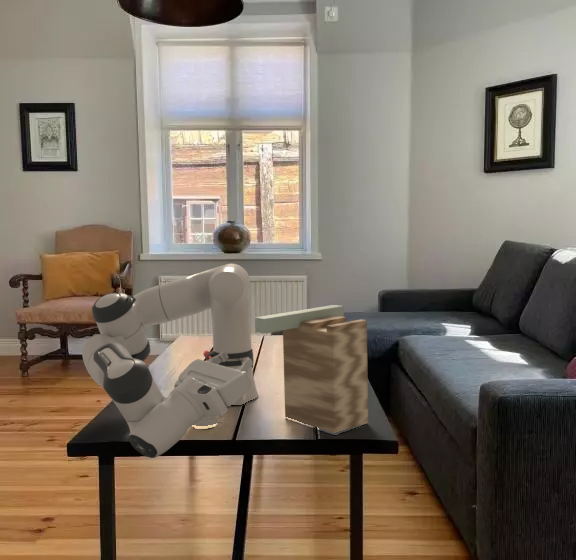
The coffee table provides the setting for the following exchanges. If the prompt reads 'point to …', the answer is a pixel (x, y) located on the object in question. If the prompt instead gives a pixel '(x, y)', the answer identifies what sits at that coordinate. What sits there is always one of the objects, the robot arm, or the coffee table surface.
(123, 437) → the coffee table surface
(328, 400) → the wooden box
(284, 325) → the gray-green block
